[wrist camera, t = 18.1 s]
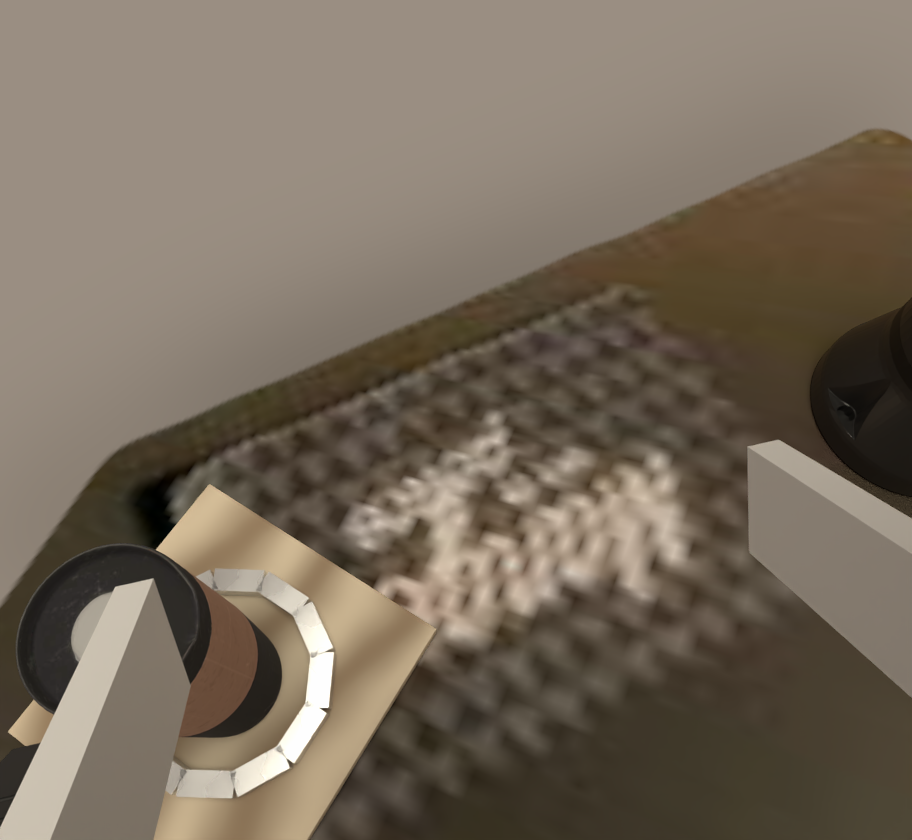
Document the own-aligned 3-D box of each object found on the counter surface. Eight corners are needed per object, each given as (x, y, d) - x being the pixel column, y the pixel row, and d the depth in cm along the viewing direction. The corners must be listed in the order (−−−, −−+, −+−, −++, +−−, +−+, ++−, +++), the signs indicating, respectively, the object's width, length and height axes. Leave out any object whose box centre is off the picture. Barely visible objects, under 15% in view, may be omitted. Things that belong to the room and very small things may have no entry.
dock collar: (375, 643, 50) (373, 640, 49) (245, 845, 45) (239, 847, 44) (214, 538, 53) (208, 531, 52) (75, 715, 48) (65, 713, 47)
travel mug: (146, 694, 49) (-29, 649, 30) (226, 599, 51) (109, 506, 33) (232, 768, 47) (100, 768, 29) (310, 665, 50) (235, 606, 31)
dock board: (436, 632, 52) (436, 629, 51) (259, 920, 45) (253, 926, 43) (214, 490, 56) (209, 484, 55) (19, 732, 49) (7, 731, 47)
